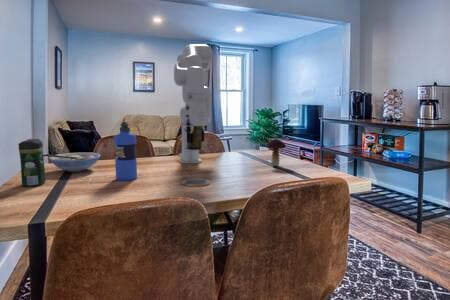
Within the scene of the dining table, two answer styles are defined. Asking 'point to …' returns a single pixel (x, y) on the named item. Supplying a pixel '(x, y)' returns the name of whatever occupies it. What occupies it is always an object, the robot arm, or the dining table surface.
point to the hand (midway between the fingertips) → (195, 141)
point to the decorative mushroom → (275, 150)
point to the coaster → (195, 182)
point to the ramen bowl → (74, 161)
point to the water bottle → (125, 154)
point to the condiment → (196, 139)
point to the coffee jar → (32, 162)
